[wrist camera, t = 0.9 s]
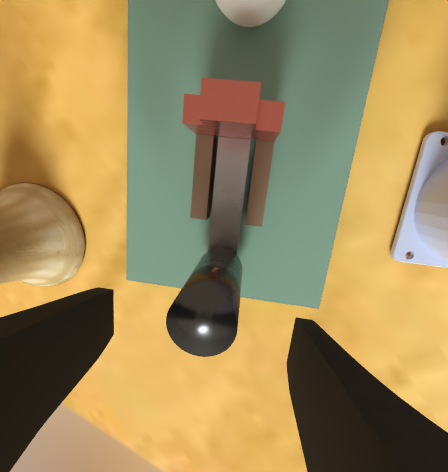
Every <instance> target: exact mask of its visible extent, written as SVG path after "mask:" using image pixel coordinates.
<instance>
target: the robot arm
mask: <svg viewBox="0 0 448 472" xmlns="http://www.w3.org/2000/svg"><path fill="white" fill-rule="evenodd" d="M442 138H444V139H445V143H444V145H441V143H440V141H441V139H442ZM408 252H410V255H409V256H408V257H405V255H406V253H408ZM390 255H391V257H392V258H393V259H394V260H396V261H399V262H407V263H415V264H422V265H430V266H438V267H445V268H448V132H443V131H435V132H431V133H429V134H427V135H426V136H425V137H424V139H423V142H422V145H421V149H420V152H419V156H418V159H417V162H416V166H415V169H414V173H413V176H412V180H411V183H410V187H409V190H408V194H407V197H406V200H405V204H404V207H403V211H402V214H401V218H400V221H399V225H398V228H397V231H396V235H395V238H394V242H393V245H392V249H391V253H390ZM113 335H114V310H113V290H112V289H105V288H94V289H90V290H87V291H83V292H80V293H77V294H74V295H71V296H67V297H64V298H61V299H58V300H55V301H52V302H49V303H46V304H43V305H40V306H37V307H34V308H30V309H27V310H24V311H20V312H17V313H14V314H10V315H7V316H4V317H0V472H9V471H10V470H11V469H12V467H13V466H14V465H15V463H16V462H17V460H18V459H19V458H20V456H21V455H22V453H23V452H24V451H25V449H26V448H27V446H28V445H29V443H30V442H31V441H32V439H33V438H34V437H35V435H36V434H37V432H38V431H39V430H40V428H41V427H42V426H43V424H44V423H45V422H46V421H47V419H48V418H49V417H50V416H51V415H52V413H53V412H54V411H55V410H56V409H57V407H58V406H59V405H60V404H61V403H62V401H63V400H64V399H65V398H66V397H67V395H68V394H69V393H70V392H71V391H72V389H73V388H74V387H75V386H76V385H77V383H78V382H79V381H80V380H81V379H82V378H83V376H84V375H85V374H86V373H87V371H88V370H89V369H90V368H91V367H92V365H93V364H94V363H95V362H96V360H97V359H98V358H99V356H100V355H101V353H102V352H103V350H104V349H105V348H106V346H107V344H108V343H109V341H110V339H111V338H112V336H113ZM287 372H288V382H289V391H290V396H291V400H292V405H293V409H294V414H295V418H296V423H297V427H298V431H299V436H300V440H301V445H302V449H303V453H304V458H305V462H306V467H307V472H448V433H447V432H446V431H444V430H443V429H442V428H440V427H439V426H437V425H436V424H435V423H433V422H432V421H430V420H429V419H428V418H426V417H425V416H424V415H422V414H421V413H420V412H418V411H417V410H416V409H414V408H413V407H412V406H410V405H409V404H408V403H406V402H405V401H404V400H402V399H401V398H400V397H398V396H397V395H396V394H395V393H393V392H392V391H391V390H390V389H388V388H387V387H386V386H385V385H384V384H382V383H381V382H380V381H379V380H378V379H376V378H375V377H374V376H373V375H372V374H371V373H369V372H368V371H367V370H366V369H365V368H364V367H363V366H361V365H360V364H359V363H358V362H357V361H356V360H355V359H354V358H353V357H351V356H350V355H349V354H348V353H347V352H346V351H345V350H344V349H343V348H342V347H341V346H340V345H339V344H338V343H337V342H336V341H334V340H333V339H332V338H331V337H330V336H329V335H328V334H327V333H326V332H325V331H324V330H323V329H322V328H321V327H320V326H319V325H318V324H317V323H315V322H314V321H313V320H309V319H302V318H296V319H295V324H294V329H293V334H292V339H291V344H290V349H289V354H288V359H287Z"/></svg>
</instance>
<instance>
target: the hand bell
mask: <svg viewBox="0 0 448 472" xmlns="http://www.w3.org/2000/svg"><path fill="white" fill-rule="evenodd" d="M84 251H85V239H84V234H83V230H82V227H81V224H80V222H79V220H78V218H77V216H76V214H75V213H74V211H73V210H72V208H71V207H70V206H69V205H68V204H67V202H66V201H65V200H64V199H63V198H61V197H60V196H59V195H58V194H56V193H55V192H53V191H51V190H50V189H48V188H46V187H43V186H40V185H37V184H32V183H18V184H14V185H10V186H8V187H6V188H4V189H2V190H1V191H0V284H3V283H8V282H14V281H21V282H23V283H26V284H30V285H35V286H53V285H57V284H61V283H63V282H65V281H67V280H68V279H70V278H71V277H72V276H73V275H74V274H75V273H76V271H77V270H78V269H79V267H80V265H81V263H82V260H83V256H84Z"/></svg>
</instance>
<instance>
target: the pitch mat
mask: <svg viewBox="0 0 448 472" xmlns="http://www.w3.org/2000/svg"><path fill="white" fill-rule="evenodd" d="M388 1H389V0H286V1H285V3H284V5H283V6H282V8H281V9H280V10H279V11H278V13H277V14H276V15H275V16H274V17H273V18H271V19H270V20H269V21H267V22H266V23H264V24H261V25H259V26H255V27H243V26H240V25H237V24H235V23H233V22H232V21H230V20H229V19H228V18H227V17H226V16H225V15H224V14H223V13H222V11H221V10H220V8H219V7H218V5H217V3H216V1H215V0H128V124H127V280H130V281H137V282H144V283H150V284H157V285H164V286H170V287H177V288H183V286H184V285H185V283H186V281H187V280H188V278H189V277H190V275H191V273H192V272H193V270H194V269H195V267H196V266H197V264H198V262H199V261H200V259H201V258H202V256H203V255H204V254H205V253H206V252H207V251H208V245H209V234H210V223H211V213H212V202H213V191H214V181H215V170H216V159H217V149H218V138H219V136H217V146H216V157H215V168H214V179H213V189H212V200H211V211H210V217H209V218H208V219H207V220H202V219H194V218H190V213H191V199H192V186H193V172H194V158H195V144H196V134H195V133H194V132H193V131H191V130H190V129H189V128H188V127H186V126H185V125H184V124H183V123H182V120H183V103H184V94H196V95H200V92H201V78H212V79H226V80H239V81H252V82H261V90H260V99H259V100H269V101H282V102H285V107H284V114H283V121H282V127H281V133H280V134H279V136H278V137H277V139H276V140H275V142H274V149H273V156H272V162H271V169H270V176H269V183H268V190H267V196H266V203H265V210H264V217H263V223H262V227H258V226H250V225H245V224H246V216H247V208H248V200H249V193H250V185H251V177H252V169H253V162H254V154H255V146H256V140H255V139H251V146H250V154H249V162H248V170H247V178H246V186H245V194H244V202H243V210H242V218H241V226H240V234H239V242H238V250H237V256H238V257H239V259H240V261H241V263H242V269H243V271H242V282H241V293H240V297H244V298H250V299H257V300H264V301H270V302H277V303H284V304H290V305H297V306H304V307H310V308H317V309H319V306H320V301H321V297H322V292H323V288H324V284H325V279H326V275H327V270H328V266H329V262H330V257H331V253H332V248H333V244H334V239H335V235H336V231H337V226H338V222H339V217H340V213H341V209H342V204H343V200H344V195H345V191H346V187H347V182H348V178H349V173H350V169H351V164H352V160H353V156H354V151H355V147H356V142H357V138H358V134H359V129H360V125H361V120H362V116H363V111H364V107H365V103H366V98H367V94H368V89H369V85H370V81H371V76H372V72H373V67H374V63H375V58H376V54H377V50H378V45H379V41H380V36H381V32H382V28H383V23H384V19H385V14H386V10H387V6H388Z"/></svg>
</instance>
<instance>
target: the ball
mask: <svg viewBox="0 0 448 472" xmlns="http://www.w3.org/2000/svg"><path fill="white" fill-rule="evenodd" d="M215 1H216V3H217V5H218V7H219V8H220V10H221V11H222V13H223V14H224V15H225V16H226V17H227V18H228V19H229V20H230V21H232V22H233V23H235V24H237V25H240V26H243V27H255V26H259V25H261V24H264V23H266V22H267V21H269V20H270V19H271V18H273V17H274V16H275V15H276V14H277V13H278V11H279V10H280V9H281V8H282V6H283V5H284V3H285V1H286V0H215Z"/></svg>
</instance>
